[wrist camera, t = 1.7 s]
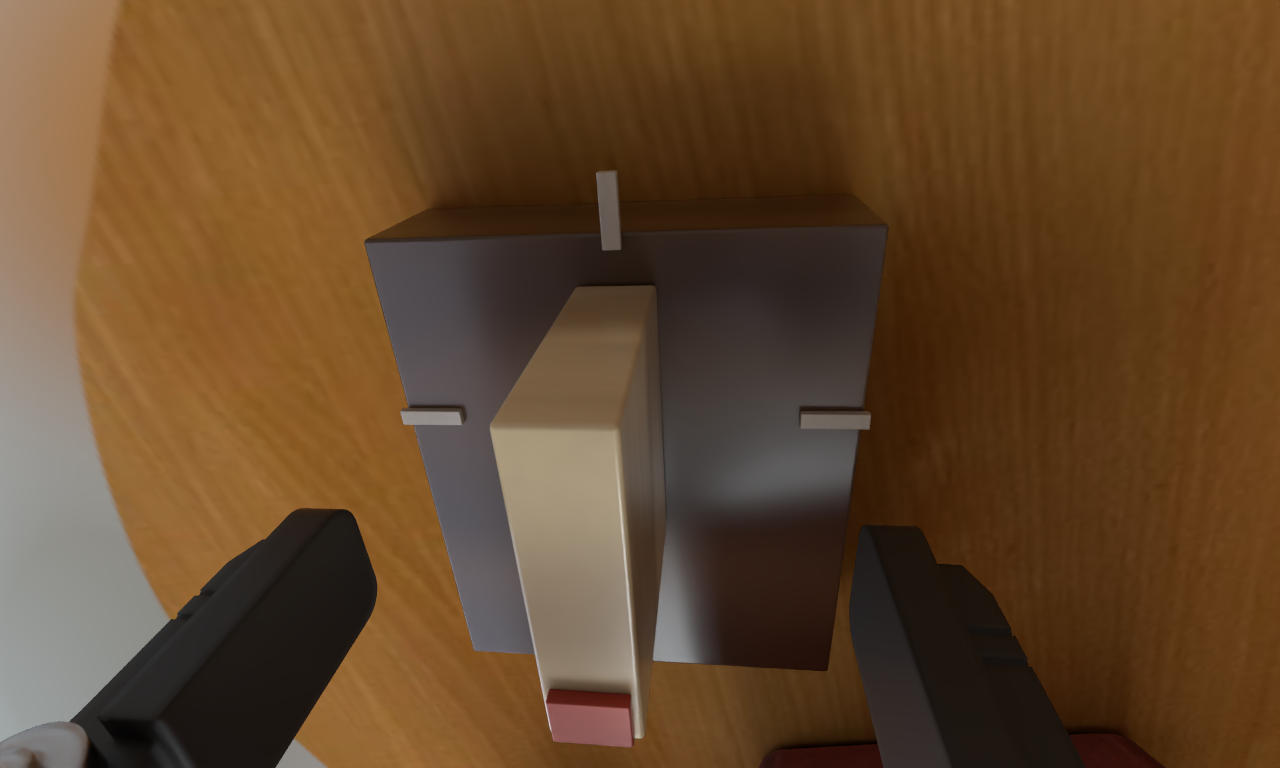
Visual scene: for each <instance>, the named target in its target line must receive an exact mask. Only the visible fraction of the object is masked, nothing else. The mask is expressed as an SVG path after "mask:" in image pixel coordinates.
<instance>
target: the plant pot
mask: <svg viewBox="0 0 1280 768" xmlns="http://www.w3.org/2000/svg"><path fill="white" fill-rule="evenodd" d="M1069 737H1070V738H1071V740H1072V742H1073V744H1074V746H1075V748H1076V750H1077V751H1078V753H1079V755H1080V757H1081V759H1082V761H1083V763H1084V764H1085V766H1086V768H1165V767H1164V766H1163V765H1161V764H1160V763H1159V762H1158V761H1156V760H1155V759H1154V758H1153V757H1151V756H1150V755H1149V754H1148V753H1147V752H1145V751H1144V750H1143V749H1142V748H1141V747H1139V746H1138V745H1137V744H1136V743H1134V742H1133V741H1131V740H1130V739H1129V738H1126V737H1122V736H1119V735H1115V734H1098V733H1095V734H1077V735H1069ZM759 768H884V767H883V763H882V759H881V755H880V751H879V747H878V744H872V745H854V746H836V747H818V748H801V749H784V750H777V751H774V752H772V753H770V754H768V755H767V756H765V757H764V758H763V760H762V762H761V763H760V765H759Z"/></svg>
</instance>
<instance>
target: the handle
mask: <svg viewBox="0 0 1280 768" xmlns="http://www.w3.org/2000/svg"><path fill="white" fill-rule="evenodd" d="M490 433H491V438H492V443H493V448H494V453H495V458H496V463H497V468H498V473H499V478H500V483H501V488H502V493H503V498H504V503H505V508H506V512H507V517H508V522H509V527H510V532H511V537H512V542H513V547H514V552H515V557H516V562H517V567H518V572H519V577H520V582H521V587H522V592H523V597H524V602H525V607H526V612H527V617H528V622H529V627H530V632H531V637H532V642H533V647H534V652H535V657H536V662H537V667H538V672H539V677H540V682H541V687H542V692H543V697H544V702H545V707H546V712H547V717H548V722H549V727H550V730H551V732H552V737H553V741H554V742H566V743H579V744H592V745H605V746H618V747H631V748H632V747H633V746H634V739H641V738H643V737H644V735H645V732H646V722H647V712H648V702H649V692H650V682H651V673H652V663H653V653H654V643H655V633H656V623H657V613H658V604H659V594H660V584H661V574H662V564H663V554H664V544H665V534H666V504H665V481H664V458H663V435H662V412H661V388H660V365H659V342H658V319H657V296H656V288H655V286H652V285H650V286H594V287H577V288H575V290H574V291H573V293H572V294H571V296H570V298H569V299H568V301H567V302H566V304H565V306H564V307H563V309H562V310H561V312H560V314H559V315H558V317H557V318H556V320H555V322H554V323H553V325H552V326H551V328H550V329H549V331H548V333H547V334H546V336H545V337H544V339H543V341H542V342H541V344H540V345H539V347H538V349H537V350H536V352H535V353H534V355H533V357H532V358H531V360H530V361H529V363H528V364H527V366H526V368H525V369H524V371H523V372H522V374H521V376H520V377H519V379H518V380H517V382H516V384H515V385H514V387H513V388H512V390H511V392H510V393H509V395H508V396H507V398H506V400H505V401H504V403H503V404H502V406H501V407H500V409H499V411H498V412H497V414H496V415H495V417H494V419H493V420H492V422H491V424H490Z"/></svg>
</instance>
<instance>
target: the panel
mask: <svg viewBox="0 0 1280 768" xmlns="http://www.w3.org/2000/svg"><path fill="white" fill-rule="evenodd" d="M596 179H597V191H598V203H587V204H558V205H530V206H501V207H473V208H444V209H427V210H425V211H423V212H421V213H419V214H417V215H415V216H413V217H411V218H409V219H406V220H404V221H402V222H400V223H398V224H396V225H394V226H392V227H390V228H388V229H386V230H384V231H382V232H380V233H378V234H376V235H374V236H372V237H370V238H368V239H366V240H365V242H364V244H365V247H366V251H367V255H368V259H369V262H370V266H371V270H372V273H373V277H374V281H375V285H376V288H377V292H378V296H379V299H380V303H381V307H382V310H383V314H384V318H385V322H386V325H387V329H388V333H389V336H390V340H391V344H392V348H393V351H394V355H395V359H396V362H397V366H398V370H399V374H400V377H401V381H402V385H403V388H404V392H405V396H406V400H407V403H408V407H409V408H403V409H402V410H401V411H400V413H401V416H402V420H403V424H404V425H413V426H414V429H415V433H416V437H417V440H418V444H419V448H420V452H421V455H422V459H423V463H424V466H425V470H426V474H427V478H428V481H429V485H430V489H431V492H432V496H433V500H434V504H435V507H436V511H437V515H438V518H439V522H440V526H441V530H442V533H443V537H444V541H445V544H446V548H447V552H448V556H449V559H450V563H451V567H452V570H453V574H454V578H455V581H456V585H457V589H458V593H459V596H460V600H461V604H462V607H463V611H464V615H465V619H466V622H467V626H468V630H469V633H470V637H471V641H472V645H473V648H474V650H475V651H487V652H504V653H521V654H535V652H534V647H533V642H532V637H531V632H530V627H529V622H528V617H527V612H526V607H525V602H524V597H523V592H522V587H521V582H520V577H519V572H518V567H517V562H516V557H515V552H514V547H513V542H512V537H511V532H510V527H509V522H508V517H507V512H506V508H505V503H504V498H503V493H502V488H501V483H500V478H499V473H498V468H497V463H496V458H495V453H494V448H493V443H492V438H491V433H490V424H491V422H492V420H493V419H494V417H495V415H496V414H497V412H498V411H499V409H500V407H501V406H502V404H503V403H504V401H505V400H506V398H507V396H508V395H509V393H510V392H511V390H512V388H513V387H514V385H515V384H516V382H517V380H518V379H519V377H520V376H521V374H522V372H523V371H524V369H525V368H526V366H527V364H528V363H529V361H530V360H531V358H532V357H533V355H534V353H535V352H536V350H537V349H538V347H539V345H540V344H541V342H542V341H543V339H544V337H545V336H546V334H547V333H548V331H549V329H550V328H551V326H552V325H553V323H554V322H555V320H556V318H557V317H558V315H559V314H560V312H561V310H562V309H563V307H564V306H565V304H566V302H567V301H568V299H569V298H570V296H571V294H572V293H573V291H574V290H575V288H577V287H594V286H650V285H652V286H655V288H656V296H657V319H658V342H659V365H660V388H661V412H662V435H663V458H664V481H665V504H666V534H665V544H664V554H663V564H662V574H661V584H660V594H659V604H658V613H657V623H656V633H655V643H654V653H653V661H658V662H675V663H692V664H710V665H727V666H744V667H761V668H778V669H795V670H813V671H827V670H828V665H829V658H830V650H831V643H832V636H833V629H834V621H835V614H836V607H837V600H838V592H839V585H840V578H841V571H842V563H843V556H844V549H845V542H846V534H847V527H848V520H849V513H850V506H851V498H852V491H853V484H854V477H855V469H856V462H857V455H858V448H859V440H860V433H861V429H866V430H868V429H869V427H870V420H871V414H870V412H869V411H864V404H865V397H866V390H867V382H868V375H869V368H870V361H871V354H872V346H873V339H874V332H875V325H876V317H877V310H878V303H879V296H880V288H881V281H882V274H883V267H884V259H885V252H886V245H887V238H888V230H889V227H888V224H887V223H885V222H884V221H883V220H882V219H881V218H880V217H879V216H878V215H876V214H875V213H874V212H873V211H872V210H871V209H870V208H868V207H867V206H866V205H865V204H864V203H863V202H862V201H861V200H859V199H858V198H857V197H856V196H855V195H853V194H843V195H814V196H786V197H757V198H729V199H700V200H672V201H643V202H619V193H618V178H617V171H616V170H614V171H597V172H596Z"/></svg>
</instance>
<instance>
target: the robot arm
mask: <svg viewBox="0 0 1280 768" xmlns="http://www.w3.org/2000/svg"><path fill="white" fill-rule="evenodd" d="M376 596H377V581H376V576H375V573H374V571H373V568H372V565H371V562H370V559H369V556H368V553H367V551H366V548H365V545H364V542H363V539H362V536H361V533H360V530H359V528H358V525H357V522H356V519H355V517H354V516H353V514H352V513H351V512H350V511H348V510H344V509H311V508H301V509H297V510H295V511H293V512H292V513H291V514H290V515H288V516H287V517H286V518H285V520H284V521H283V522H282V523H281V524H280V525H279V526H278V527H277V528H276V529H275V530H274V531H273V532H272V533H271V534H270V535H269V536H268V537H267V538H266V539H265V540H261V541H260V542H258V543H257V544H255V545H254V546H252V547H251V548H249V549H247V550H246V551H244V552H243V553H241V554H240V555H238V556H237V557H235V558H234V559H232V560H231V561H229V562H228V563H227V564H226V565H225V566H224V567H223V568H222V569H221V570H220V571H219V572H218V573H217V574H216V575H215V576H214V577H213V578H212V579H211V580H210V581H209V582H208V583H207V584H206V585H205V586H204V587H203V588H202V589H201V593H200V595H199V596H194V597H193V598H192V599H191V600H190V601H189V602H188V603H187V604H186V605H185V606H184V607H183V608H182V609H181V610H180V611H179V612H178V613H177V614H178V616H177V618H176V619H175V620H174V619H171V620H170V621H169V622H168V623H167V624H166V625H165V627H163V628H162V629H161V631H159V632H158V633H157V634H156V636H154V637H153V639H151V641H149V642H148V644H146V645H145V647H143V648H142V650H140V652H139V653H138V654H137V655H136V656H135V657H134V658H133V659H132V660H131V661H130V662H129V663H128V664H127V665H126V666H125V667H124V668H123V669H122V670H121V671H120V672H119V673H118V674H117V675H116V676H115V677H114V678H113V679H112V680H111V681H110V682H109V683H108V684H107V685H106V686H105V687H104V688H103V689H102V690H101V691H100V692H99V693H98V694H97V695H96V696H95V697H94V698H93V699H92V700H91V701H90V702H89V703H88V704H87V705H86V706H85V707H84V708H83V709H82V710H81V711H80V712H79V713H78V714H77V715H76V716H75V717H74V718H73V719H71V721H69V722H53V723H47V724H43V725H39V726H35V727H32V728H30V729H27V730H25V731H22V732H20V733H17V734H15V735H13V736H11V737H9V738H7V739H5V740H3V741H1V742H0V768H275V767H276V766H277V764H278V763H279V761H280V759H281V758H282V756H283V755H284V753H285V751H286V750H287V748H288V747H289V745H290V744H291V742H292V740H293V739H294V737H295V736H296V734H297V733H298V731H299V729H300V728H301V726H302V725H303V723H304V721H305V720H306V718H307V717H308V715H309V713H310V712H311V710H312V709H313V707H314V705H315V704H316V702H317V701H318V699H319V698H320V696H321V694H322V693H323V691H324V690H325V688H326V686H327V685H328V683H329V682H330V680H331V678H332V677H333V675H334V674H335V672H336V670H337V669H338V667H339V666H340V664H341V663H342V661H343V659H344V658H345V656H346V655H347V653H348V651H349V650H350V648H351V647H352V645H353V643H354V642H355V640H356V639H357V637H358V636H359V634H360V632H361V631H362V629H363V628H364V626H365V624H366V623H367V621H368V620H369V618H370V616H371V614H372V611H373V609H374V606H375V602H376ZM849 617H850V629H851V637H852V642H853V647H854V651H855V655H856V659H857V663H858V667H859V671H860V675H861V679H862V683H863V687H864V691H865V695H866V699H867V703H868V707H869V711H870V715H871V719H872V723H873V727H874V731H875V735H876V739H877V743H878V747H879V751H880V755H881V759H882V763H883V767H884V768H1086V766H1085V764H1084V763H1083V761H1082V759H1081V757H1080V755H1079V753H1078V751H1077V750H1076V748H1075V746H1074V744H1073V742H1072V740H1071V738H1070V737H1069V735H1068V733H1067V731H1066V729H1065V727H1064V726H1063V724H1062V722H1061V720H1060V718H1059V716H1058V714H1057V713H1056V711H1055V709H1054V707H1053V705H1052V703H1051V701H1050V700H1049V698H1048V696H1047V694H1046V692H1045V690H1044V689H1043V687H1042V685H1041V683H1040V681H1039V679H1038V677H1037V676H1036V674H1035V672H1034V670H1033V668H1032V667H1029V666H1028V663H1027V657H1026V655H1025V653H1024V652H1023V650H1022V648H1021V646H1020V644H1019V642H1018V640H1017V639H1016V637H1015V636H1012V633H1011V627H1010V626H1009V624H1008V622H1007V620H1006V618H1005V616H1004V615H1003V613H1002V611H1001V609H1000V607H999V605H998V603H997V602H996V600H995V598H994V596H993V594H992V593H991V592H990V591H988V590H987V589H986V588H985V587H984V586H983V585H982V584H981V583H980V582H979V581H978V580H977V579H976V578H975V577H974V576H972V575H971V574H970V573H969V572H968V571H967V570H966V569H965V568H964V567H963V566H962V565H951V564H937V562H936V560H935V558H934V555H933V553H932V551H931V549H930V547H929V545H928V542H927V540H926V538H925V536H924V534H923V532H922V531H921V529H920V528H919V527H917V526H891V525H863V526H862V528H861V530H860V534H859V540H858V546H857V553H856V560H855V567H854V574H853V581H852V588H851V594H850V604H849Z"/></svg>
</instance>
